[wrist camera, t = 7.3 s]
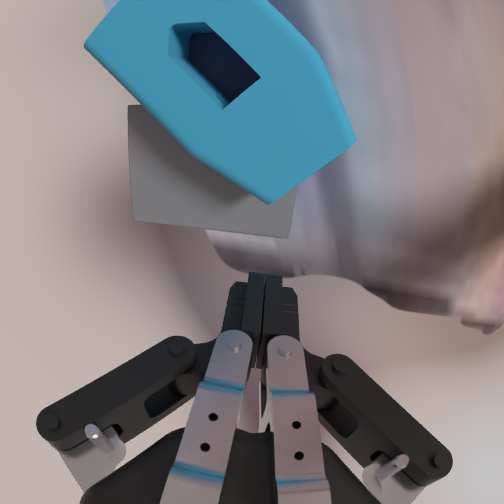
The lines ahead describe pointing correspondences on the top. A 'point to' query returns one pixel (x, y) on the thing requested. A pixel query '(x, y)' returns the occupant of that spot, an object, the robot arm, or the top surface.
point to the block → (215, 103)
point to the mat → (192, 187)
